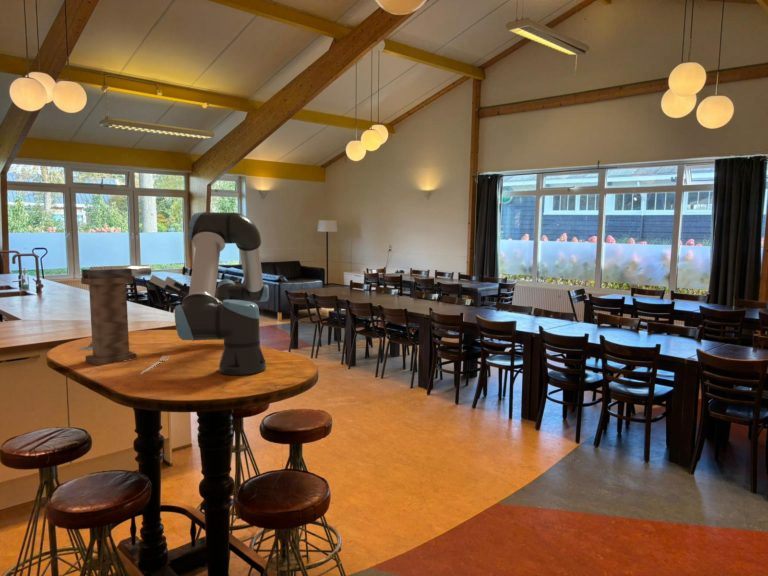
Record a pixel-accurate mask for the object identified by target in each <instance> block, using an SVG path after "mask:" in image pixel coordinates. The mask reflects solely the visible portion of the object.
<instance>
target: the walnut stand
mask: <svg viewBox="0 0 768 576" xmlns="http://www.w3.org/2000/svg"><path fill="white" fill-rule="evenodd" d="M80 280H81V281H80V283H81V284H82V285H87V286H88V290H89V305H90V306H89V307H90V327H91V342H92V348H93V351H92V354H89V355H87V354H86V355H85V362H86V363H89V364H91V365H93V366H94V367H96V366H102V365H110V364H115V363H114V362H116V363H120V362H119V361H123V362H125V361H124V360H129V359H135V358H137V359H138V356H137V355H138V354H137V352H136V353H135V352H133V351H130V341H129V339H130V338H129V322H128V321H129V319H128V317H129V316H128V300H127V299H128V298H127V284H133V283H134V276H132V269H109V270H90V268H89V269H87V268H86V269H81V278H80ZM135 360H136V359H135ZM129 361H130V360H129ZM109 363H110V364H109Z"/></svg>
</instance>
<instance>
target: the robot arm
mask: <svg viewBox="0 0 768 576" xmlns="http://www.w3.org/2000/svg"><path fill="white" fill-rule="evenodd" d="M187 232H188V233H187V234H188V239H189V242H190V243H191V244H192V246H193V247H194V248H195V250H194V257H193V263H192V270H191V276H190V283H189V285H188V284H187V283H184V284H183V283H182V282H180V281H177V280H175V279H174V278H172V277H170V276H167V277H166V278H165V280H164V279H162V278H159V277H158V276H156V275H154V274H151V275H150V278H149V281H148V282H151V283H153V284H154V285H156V286H158V287H160V288H162V290H163V291H168V292H170V293H172V294H175V295H176V296H179V297H181V298H183V299H182V303H181V304H178V305H176V306H175V307H174V308H175V309H174V323H175V329H176V333H177V336H178V338H179V339H180V340H181V341H191V342H194V341H215V340H216V341H219V340H223V351H222V355H221V357H220V360H219V365H218V369H219V371H218V372H219V373H220V374H223V375H227V376H247V375H254V374H258V373H261V372H263V371H265V370H266V369H267V365H266V364H267V363H266V359H265V357H264V353H263V351H262V348H261V334H260V333H261V332H260V331H261V330H260V319H261V316H260V310H259V309H260V308H259V306H258V304H257V303H260V302H267V301H268V300H269V299H270V295H269V294H270V287H269V285H268V284H264V281H263V280H264V279H263V270H262V264H261V262H262V261H261V254H260V253H261V252H260V246H261V245H262V238H261V233H260V231H259V229H258V227H257V226H256V225H255V223H254V222H253V221H252V220H251V219H250V218H248V216H245V215H244V214H241V213H238V212H210V211H209V212H207V211H203V212H195V213H193V214H192V215H191V217H190V220H189V223H188V231H187ZM226 244H228V245H229V244H235V245H236V248H237V249H238V250H239V255H240V260H241V268H242V273H243V274H242V275H243V280H244V284H236V283H235V282H234V281H233V280H231V279H227V278H226V279H221V280H219V282H218V276H219V275H218V274H219V267H220V266H219V265H220V257H221V256H220V255H221V252H222V251H223V250H224V249H225V247H226ZM217 282H218V283H217Z"/></svg>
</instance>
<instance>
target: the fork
mask: <svg viewBox="0 0 768 576" xmlns="http://www.w3.org/2000/svg"><path fill="white" fill-rule="evenodd" d="M169 358H170V355H168V356H167V355H162V356H161V357H160V359H159V360H161V361H162V360H163V361H164V360H165V361H166V360H168V361H169ZM159 363H162V362H158V361H156V362H155V363H154V364H152V365H150V366H149V367H148V368H146V369H144V370H143V371H141V372H140V373H139V375H142V374H144V373H146V372H148V371H150V370H152V369H154V368H155V367H157V366H158V365H157V364H159ZM156 365H157V366H156ZM159 365H160V364H159ZM154 366H155V367H154ZM153 367H154V368H153ZM151 368H152V369H151ZM149 369H150V370H149Z"/></svg>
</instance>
